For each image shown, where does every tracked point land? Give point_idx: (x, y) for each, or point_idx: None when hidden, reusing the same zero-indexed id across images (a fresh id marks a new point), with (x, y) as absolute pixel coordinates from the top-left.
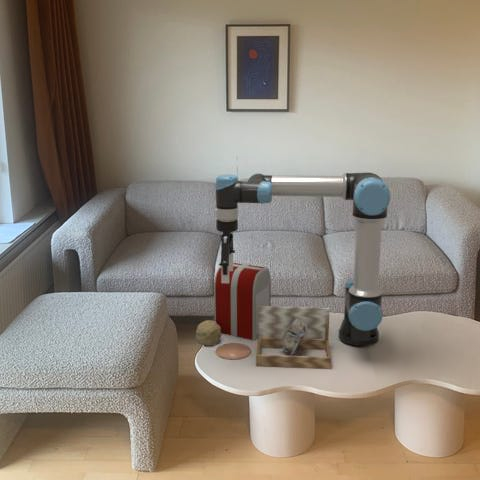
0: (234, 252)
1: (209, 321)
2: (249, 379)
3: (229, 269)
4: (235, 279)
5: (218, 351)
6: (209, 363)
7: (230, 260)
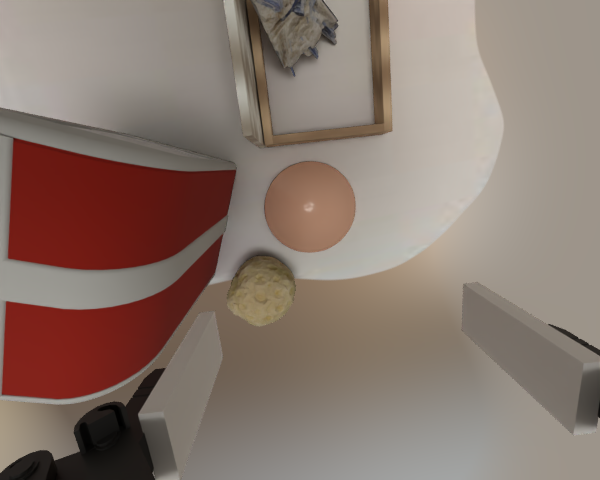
0: (103, 411)
1: (252, 302)
2: (453, 139)
3: (215, 340)
4: (143, 279)
5: (322, 243)
6: (380, 250)
7: (194, 381)
